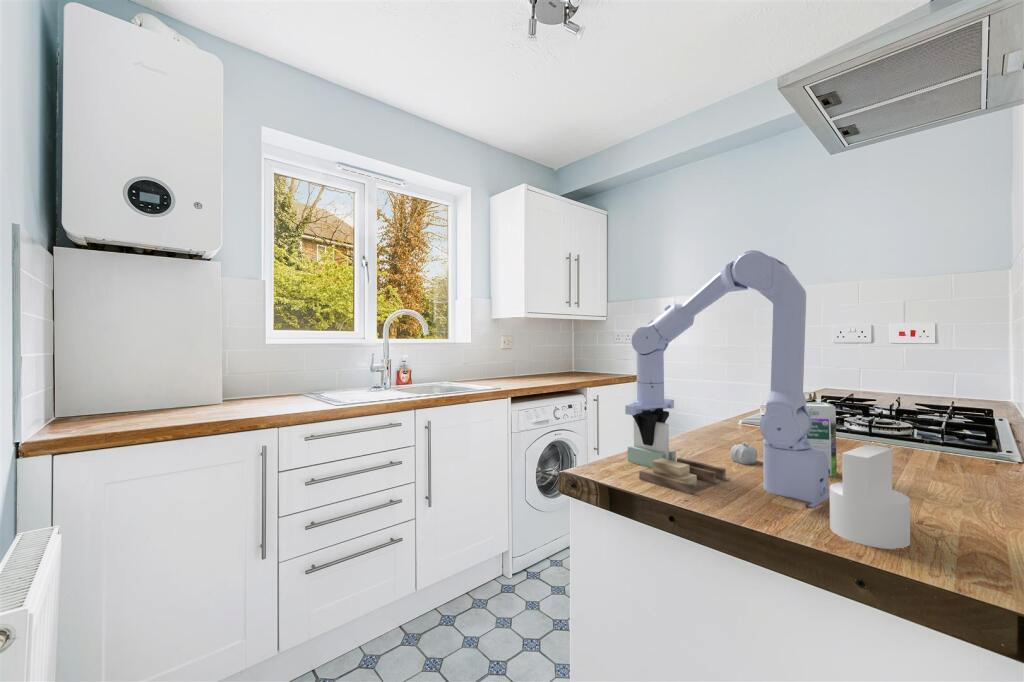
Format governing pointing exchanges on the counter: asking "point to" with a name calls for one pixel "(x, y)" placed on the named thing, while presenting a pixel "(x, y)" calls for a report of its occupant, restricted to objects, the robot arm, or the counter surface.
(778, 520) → the counter surface
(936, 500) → the counter surface
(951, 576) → the counter surface
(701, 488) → the rack
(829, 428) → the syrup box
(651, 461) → the stand
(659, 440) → the white square panel
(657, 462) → the offcut stack
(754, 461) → the garlic
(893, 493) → the cylinder with rectangular tab
